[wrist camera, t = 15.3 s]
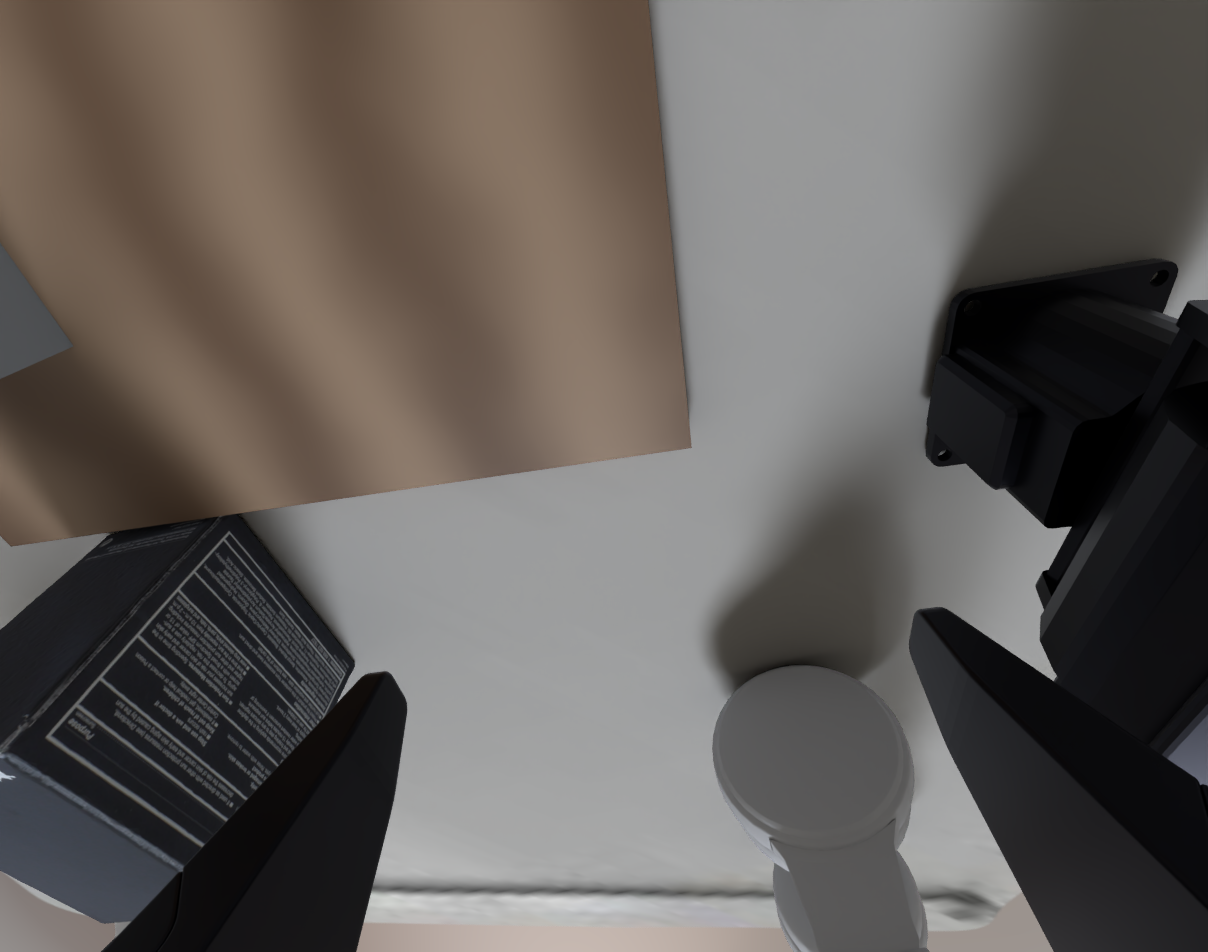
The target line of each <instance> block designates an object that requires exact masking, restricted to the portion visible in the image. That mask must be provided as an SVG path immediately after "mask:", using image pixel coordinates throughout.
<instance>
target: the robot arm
mask: <svg viewBox="0 0 1208 952" xmlns="http://www.w3.org/2000/svg"><path fill="white" fill-rule="evenodd" d="M1157 272H1158V274H1157V276H1156V278H1155V279H1153V280H1152V281H1151V282H1150V280H1151V278H1152V276H1153V275H1154V274H1155V273H1157ZM1177 273H1178V268H1177V265H1176V264H1175V263H1173V262H1171V261H1167V260H1164V259H1149V260H1143V261H1137V262H1131V263H1125V264H1119V265H1113V266H1106V267H1100V268H1094V269H1088V270H1082V271H1076V272H1070V273H1064V274H1057V275H1051V276H1045V277H1039V278H1033V279H1027V280H1021V281H1014V282H1008V283H1002V284H996V285H990V286H984V287H978V288H972V289H967V290H964V291H962V292H960V293H959V294H958V295H956V297H955V298H954V299H953V300H952V302H951V305H950V309H949V315H948V321H947V327H946V333H945V339H944V345H943V351H942V356H941V357H940V359H939V360H938V362H937V363H936V368H935V374H934V380H933V387H932V393H931V399H930V405H929V411H928V417H927V426H928V427H929V428H930V429H929V435H928V441H927V447H926V456H927V458H928V459H929V460H930V461H931V462H932V463H933V464H934V465H936V466H939V467H944V466H951V465H958V464H967V465H968V466H969V467H970V468H971V469H972V470H973V471H974V472H975V473H976V474H977V475H978V476H979V477H980V478H981V479H982V480H983V481H984V482H985V483H986V484H988V485H989V486H990V487H991V488H993V489H995V490H998V489H1006V490H1007V491H1008V492H1009V493H1010V494H1011V495H1012V496H1013V497H1014V498H1015V499H1016V500H1018V501H1019V502H1020V503H1021V504H1022V505H1023V506H1024V507H1025V508H1026V509H1027V510H1028V511H1029V512H1030V513H1031V514H1032V515H1033V516H1035V517H1036V518H1037V519H1038V520H1039V521H1040V522H1041V523H1042V524H1043V525H1044V526H1045V527H1047V528H1060V527H1072V528H1071V529H1070V531H1069V533H1068V535H1067V537H1066V539H1065V540H1064V542H1063V544H1062V546H1061V548H1060V550H1059V552H1058V553H1057V555H1056V557H1055V559H1054V561H1053V563H1052V564H1051V566H1050V568H1049V570H1045V571H1043V572H1042V574H1041V576H1040V578H1039V580H1038V581H1037V583H1036V590H1037V592H1038V595H1039V598H1040V600H1041V603H1042V605H1043V608H1044V611H1043V613H1042V615H1041V621H1040V642H1041V644H1042V646H1043V649H1044V651H1045V653H1046V655H1047V657H1048V660H1049V662H1050V664H1051V666H1052V668H1053V670H1054V672H1055V673H1056V675H1057V677H1056V678H1055V680H1054V681H1052V680H1051V679H1049V678H1048V677H1046V676H1045V675H1043V674H1042V673H1040V672H1039V671H1037V670H1036V669H1035V668H1033V667H1032V666H1030V665H1029V664H1027V663H1026V662H1024V661H1023V660H1021V659H1020V658H1018V657H1017V656H1015V655H1014V654H1012V653H1011V652H1010V651H1008V650H1007V649H1005V648H1004V647H1002V646H1001V645H999V644H998V643H996V642H995V641H993V640H992V639H990V638H989V637H987V636H986V635H984V634H983V633H982V632H980V631H979V630H977V629H976V628H974V627H973V626H971V625H970V624H968V623H967V622H965V621H964V620H962V619H961V618H959V617H958V616H957V615H955V614H954V613H952V612H951V611H949V610H947V609H945V608H942V607H935V608H926V609H919V610H917V611H916V612H915V614H914V618H913V623H912V629H911V634H910V639H909V650H910V654H911V657H912V660H913V663H914V665H915V668H916V670H917V673H918V675H919V678H920V680H921V683H922V685H923V688H924V691H925V693H926V696H927V698H928V701H929V703H930V706H931V708H932V711H933V713H934V716H935V718H936V721H937V723H938V726H939V728H940V731H941V733H942V736H943V738H944V741H945V743H946V745H947V748H948V750H949V752H950V754H951V756H952V758H953V760H954V762H955V764H956V766H957V768H958V770H959V771H960V773H961V775H962V777H963V779H964V781H965V783H966V785H967V787H968V789H969V791H970V792H971V794H972V796H973V798H974V800H975V802H976V804H977V806H978V808H979V810H980V812H981V814H982V815H983V817H984V819H985V821H986V823H987V825H988V827H989V829H990V831H991V833H992V835H993V836H994V838H995V840H996V842H997V844H998V846H999V848H1000V850H1001V852H1002V854H1003V856H1004V857H1005V859H1006V861H1007V863H1008V865H1009V867H1010V869H1011V871H1012V873H1013V875H1014V877H1015V878H1016V880H1017V882H1018V884H1019V886H1020V888H1021V890H1022V892H1023V894H1024V896H1025V897H1026V899H1027V901H1028V903H1029V905H1030V907H1031V909H1032V911H1033V913H1034V915H1035V916H1036V918H1037V920H1038V922H1039V924H1040V926H1041V928H1042V930H1043V932H1044V934H1045V936H1046V938H1047V940H1048V941H1049V943H1050V945H1051V947H1052V949H1053V951H1054V952H1208V300H1192V301H1188V302H1187V304H1186V306H1185V308H1184V310H1183V312H1182V313H1181V315H1180V317H1179V319H1176V318H1173V317H1170V316H1168V315H1165V314H1163V312H1164V309H1165V306H1166V304H1167V301H1168V298H1169V296H1170V293H1171V290H1172V288H1173V285H1174V282H1175V280H1176V277H1177ZM973 300H974V305H973V307H972V308H971V309H970V310H969V311H967V312H964V309H965V307H966V305H967V304H968V303H969V302H971V301H973ZM943 450H946V451H945V453H943V454H942V455H939V453H940V452H941V451H943ZM938 455H939V456H938ZM406 716H407V702H406V699H405V697H404V695H403V693H402V691H401V690H400V688H399V686H398V685H397V683H396V681H395V679H394V678H393V676H392V675H391V674H390V673H389V672H387V671H383V672H374V673H368V674H366V675H364V676H363V677H361V678H360V679H359V680H358V682H357V683H356V684H355V685H354V686H353V687H352V688H351V689H350V690H349V691H348V692H347V693H346V694H345V695H344V696H343V697H342V699H341V700H340V701H339V702H338V703H337V704H336V705H335V706H334V707H333V708H332V709H331V710H330V711H329V712H328V713H327V715H326V716H325V717H324V718H323V719H322V720H321V721H320V722H319V723H318V724H317V725H316V726H315V727H314V728H313V729H312V730H311V732H310V733H309V734H308V735H307V736H306V737H305V738H304V739H303V740H302V741H301V742H300V743H299V744H298V745H297V746H296V748H295V749H294V750H293V751H292V752H291V753H290V754H289V755H288V756H287V757H286V758H285V759H284V760H283V761H282V762H281V763H280V765H279V766H278V767H277V768H276V769H275V770H274V771H273V772H272V773H271V774H270V775H269V776H268V777H267V778H266V779H265V781H264V782H263V783H262V784H261V785H260V786H259V787H258V788H257V789H256V790H255V791H254V792H253V793H252V794H251V795H250V796H249V798H248V799H247V800H246V801H245V802H244V803H243V804H242V805H241V806H240V807H239V808H238V809H237V810H236V811H235V812H234V814H233V815H232V816H231V817H230V818H229V819H228V820H227V821H226V822H225V823H224V824H223V825H222V826H221V827H220V828H219V829H218V831H217V832H216V833H215V834H214V835H213V836H212V837H211V838H210V839H209V840H208V841H207V842H206V843H205V844H204V845H203V847H202V848H201V849H200V850H199V851H198V852H197V853H196V854H195V855H194V856H193V857H192V858H191V859H190V860H189V861H188V862H187V864H186V865H185V866H184V867H183V871H181V872H178V873H177V874H176V875H175V876H174V877H173V878H172V879H171V880H170V881H169V882H168V884H167V885H166V886H165V887H164V888H163V889H162V890H161V891H160V892H159V893H158V894H157V895H156V896H155V897H154V898H153V899H152V900H151V901H150V903H149V904H148V905H147V906H146V907H145V908H144V909H143V910H142V911H141V912H140V913H139V914H138V915H137V916H136V917H135V918H134V919H133V920H132V921H131V922H130V923H129V924H128V925H127V926H126V927H125V928H124V929H123V930H122V931H121V933H120V934H119V935H118V936H117V937H116V938H115V939H114V940H112V942H110V943H109V944H108V945H107V946H106V947H105V948H104V949H103V950H102V951H101V952H356V950H357V946H358V942H359V938H360V934H361V930H362V926H363V922H364V918H365V914H366V910H367V907H368V903H369V899H370V895H371V891H372V887H373V883H374V879H375V875H376V871H377V867H378V863H379V859H380V855H381V851H382V847H383V843H384V839H385V835H386V831H387V827H388V823H389V819H390V815H391V810H392V806H393V801H394V796H395V791H396V785H397V778H398V771H399V764H400V757H401V751H402V744H403V737H404V730H405V723H406Z"/></svg>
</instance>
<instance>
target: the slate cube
mask: <svg viewBox="0 0 1208 952" xmlns="http://www.w3.org/2000/svg"><path fill="white" fill-rule="evenodd" d="M71 347H73V345H72V343H71V342H70V340H69V339H68V337H67V336H66V335H65V333H64V332H63V330H62V329H61V328H60V326H59V325H58V323H57V322H56V321H55V319H54V318H53V316H52V315H51V314H50V312H49V311H48V309H47V308H46V307H45V305H44V304H43V302H42V301H41V299H40V298H39V297H38V295H37V294H36V292H35V291H34V290H33V288H32V287H31V285H30V284H29V283H28V281H27V280H26V278H25V277H24V276H23V274H22V273H21V271H20V270H19V268H18V267H17V266H16V264H15V263H14V261H13V260H12V259H11V257H10V256H9V254H8V253H7V252H6V250H5V249H4V247H3V246H2V245H1V243H0V379H1V378H3V377H6V376H8V375H10V374H12V373H15V372H17V371H19V370H21V369H24V368H26V367H28V366H30V365H33V364H35V363H37V362H39V361H42V360H44V359H46V358H48V357H51V356H53V355H55V354H57V353H60V352H62V351H64V350H66V349H69V348H71Z"/></svg>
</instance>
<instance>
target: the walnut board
mask: <svg viewBox="0 0 1208 952" xmlns="http://www.w3.org/2000/svg"><path fill="white" fill-rule="evenodd" d="M0 243H1V245H2V246H3V247H4V249H5V250H6V252H7V253H8V254H9V256H10V257H11V259H12V260H13V261H14V263H15V264H16V266H17V267H18V268H19V270H20V271H21V273H22V274H23V276H24V277H25V278H26V280H27V281H28V283H29V284H30V285H31V287H32V288H33V290H34V291H35V292H36V294H37V295H38V297H39V298H40V299H41V301H42V302H43V304H44V305H45V307H46V308H47V309H48V311H49V312H50V314H51V315H52V316H53V318H54V319H55V321H56V322H57V323H58V325H59V326H60V328H61V329H62V330H63V332H64V333H65V335H66V336H67V337H68V339H69V340H70V342H71V343H72V345H73V347H71V348H69V349H66V350H64V351H62V352H60V353H57V354H55V355H53V356H51V357H48V358H46V359H44V360H42V361H39V362H37V363H35V364H33V365H30V366H28V367H26V368H24V369H21V370H19V371H17V372H15V373H12V374H10V375H8V376H6V377H3V378H1V379H0V536H1V537H2V538H3V539H4V540H5V541H6V542H7V543H8V544H9V545H10V546H18V545H25V544H31V543H38V542H45V541H52V540H59V539H66V538H73V537H80V536H87V535H93V534H100V533H107V532H114V531H121V530H128V529H135V528H142V527H149V526H156V525H162V524H169V523H176V522H183V521H190V520H197V519H204V518H211V517H218V516H225V515H231V514H238V513H245V512H252V511H259V510H266V509H273V508H280V507H287V506H293V505H300V504H307V503H314V502H321V501H328V500H335V499H342V498H349V497H356V496H362V495H369V494H376V493H383V492H390V491H397V490H404V489H411V488H418V487H424V486H431V485H438V484H445V483H452V482H459V481H466V480H473V479H480V478H487V477H493V476H500V475H507V474H514V473H521V472H528V471H535V470H542V469H549V468H555V467H562V466H569V465H576V464H583V463H590V462H597V461H604V460H611V459H618V458H624V457H631V456H638V455H645V454H652V453H659V452H666V451H673V450H680V449H687V448H692V447H691V437H690V427H689V416H688V406H687V396H686V386H685V375H684V365H683V355H682V344H681V334H680V324H679V314H678V303H677V293H676V283H675V272H674V262H673V252H672V242H671V231H670V221H669V211H668V200H667V190H666V180H665V170H664V159H663V149H662V139H661V128H660V118H659V108H658V98H657V87H656V77H655V67H654V56H653V46H652V36H651V26H650V15H649V5H648V0H0Z"/></svg>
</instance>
